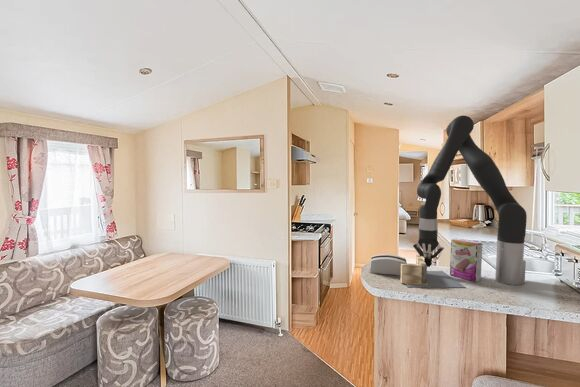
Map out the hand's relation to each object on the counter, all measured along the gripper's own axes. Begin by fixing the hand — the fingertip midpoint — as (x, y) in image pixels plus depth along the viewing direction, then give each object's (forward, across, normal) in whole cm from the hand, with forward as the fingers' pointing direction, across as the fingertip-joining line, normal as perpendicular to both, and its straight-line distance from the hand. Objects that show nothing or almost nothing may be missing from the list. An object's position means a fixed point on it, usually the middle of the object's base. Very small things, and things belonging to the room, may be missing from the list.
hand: (427, 266), depth 137 cm
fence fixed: (+4, +1, +15) cm, 15 cm away
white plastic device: (+4, +14, +10) cm, 18 cm away
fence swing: (+3, +1, +5) cm, 7 cm away
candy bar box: (+5, -13, -7) cm, 16 cm away
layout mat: (+4, -1, +6) cm, 7 cm away
